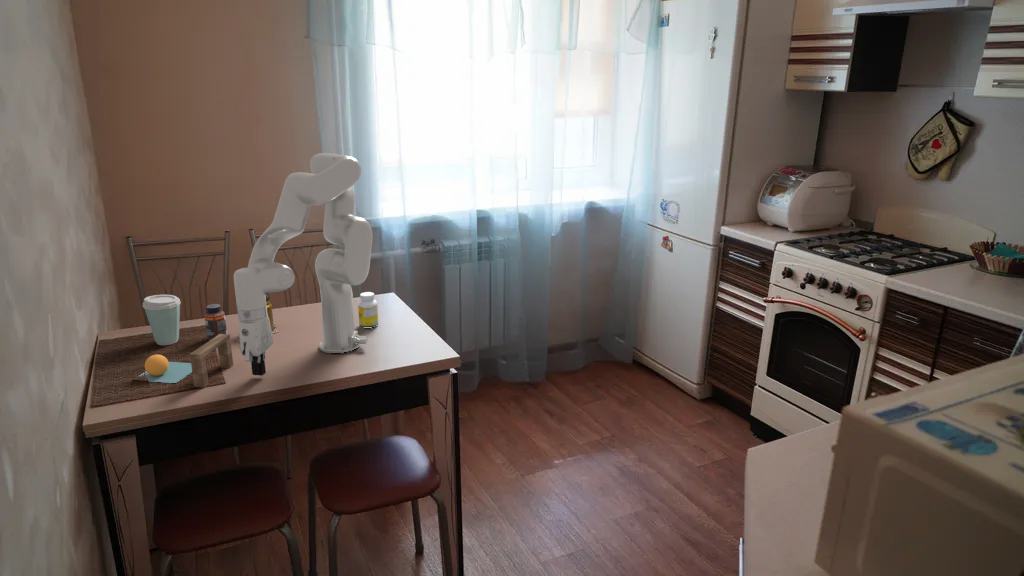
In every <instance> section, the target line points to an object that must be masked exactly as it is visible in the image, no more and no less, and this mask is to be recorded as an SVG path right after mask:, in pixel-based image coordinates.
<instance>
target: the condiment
mask: <svg viewBox="0 0 1024 576" xmlns="http://www.w3.org/2000/svg"><path fill="white" fill-rule="evenodd" d="M265 296H266V306H267V314H268V317H269V321H270V325H271V331H272V334H273V333H278V330H277V331H276V332H273V331H274V329H275V328H276V329H277V326H276V323H274V315H273V314H274V313H273V306H272V305H273V304H272V303H271V300H270V299H271V297H270V295H268V294H265ZM274 326H276V327H274Z"/></svg>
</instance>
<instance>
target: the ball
mask: <svg viewBox="0 0 1024 576" xmlns="http://www.w3.org/2000/svg"><path fill="white" fill-rule="evenodd" d="M169 362H170V361H169V360H168V358H167V357H165V356H164V355H162V354H153V355H149V357H147V358H146V359H145V361H144V369H145V371H147V373H149V374H150V375H153V376H159V375H162V374H164V373H165V372H166V371H167V369H168V367H169Z"/></svg>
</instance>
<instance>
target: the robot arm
mask: <svg viewBox="0 0 1024 576" xmlns="http://www.w3.org/2000/svg"><path fill="white" fill-rule="evenodd" d="M309 169H310V173H309V172H302V171H298V172H292V173H290V174H289V175H287V177H286V178H285V181H284V184H283V186H282V191H281V194H280V196H279V201H278V204H277V207H276V211H275V213H274V217H273V220H272V222H271V224H270V225H269V226H268V227H266V229H265V230H264V232H262V234H261V235H260V236H259V237H258V239H257V240H256V242H255V243H254V245H253V248H252V250H251V253H250V258H249V260H248V264H247V267H242V268H239V269H237V270H234V273H233V285H234V291H235V292H234V294H235V302H236V303H235V304H236V309H237V317H238V321H239V324H238V326H239V327H238V328H239V329H238V330H239V331H238V334H239V349H240V354H241V356H245V357H244V358H245V359H244V361H245V362H249V363H250V365H251V367H250V368H251V373H252V375H253V376H264V375H265V374H266V363H265V362H266V361H265V360H266V351H267V350H268V349H270V347H271V346H273V343H274V340H273V338H274V337H273V333H272V331H271V325H270V321H269V317H268V314H267V306H266V296H265V295H266V293H275V292H277V293H278V292H282V291H286V290H287V289H289V288H291V287H292V286H293V284H294V282H295V277H296V276H295V272H294V271H293V269H292V268H291V267H289V266H288V265H286V264H282V263H280V262H279V263H278V262H276V261H274V260H275V257H276V255H277V252H278V250H279V248H280V247H281V246H282V245H283V244H284V243H285V242H287V241H288V240H289V241H290V240H291V239H294V238H295V237H297V236H300V235H301V234H303V232H304V230H305V228H306V223H307V220H308V217H309V213H310V211H311V208H312V206H313V205H314V206H323V205H324V206H325V208H324V217H323V229H322V231H323V232H322V233H323V237H324V239H325V240H326V241H327V242H328V243H330V244H332V245H337V246H341V247H344V250H343V249H339V248H325V249H323V250H321V251H320V252H319V253H318V254H317V256H316V258H315V262H314V269H315V273H316V277H317V281H318V285H319V292H320V304H321V305H320V307H321V318H322V321H321V322H322V331H323V340H322V341H320V343H319V344H318V346H319V350H320V351H321V352H323V353H326V354H331V353H341V354H345V353H344V352H347V353H349V352H348V351H351V350H354V349H356V348H358V347H359V346H360V347H361V345H368V338H367V336H366V335H359V333H358V330H355V317H354V313H355V312H354V302H353V301H354V297H353V296H354V295H353V289H352V286H358V285H362V283H364V282H365V281H366V279H367V277H368V275H369V272H370V266H371V265H370V264H371V257H372V247H373V238H374V237H373V236H374V235H373V229H372V227H371V224H370V222H369V221H368V220H366V219H365V218H363V217H361V216H355V209H356V207H355V204H356V195H355V191H354V188H353V186H354V185H355V184H357V183H358V181H359V180H360V177H361V175H362V167H361V165H360V162H359V161H358V159H356V158H355V157H353V156H350V155H345V154H337V153H330V152H329V153H328V152H322V153H321V152H319V153H316V154H314V155H313V156H312V157H311V159H310V161H309ZM360 347H359V348H360ZM359 348H358V349H359ZM356 350H357V349H356ZM354 351H355V350H354ZM351 352H352V351H351Z"/></svg>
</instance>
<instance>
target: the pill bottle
mask: <svg viewBox="0 0 1024 576" xmlns="http://www.w3.org/2000/svg"><path fill="white" fill-rule="evenodd" d="M359 299H360V300H359V301H358V303H357V308H358V309H357V310H358V324H359V327H360V326H361V327H374V326H376V325H378V326H379V312H378V311H379V310H378V309H379V308H378V307H379V306H378V302H377V300H376V299H375V293H374V292H371V291H365V292H361V293H360V294H359ZM361 327H360V328H361Z"/></svg>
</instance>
